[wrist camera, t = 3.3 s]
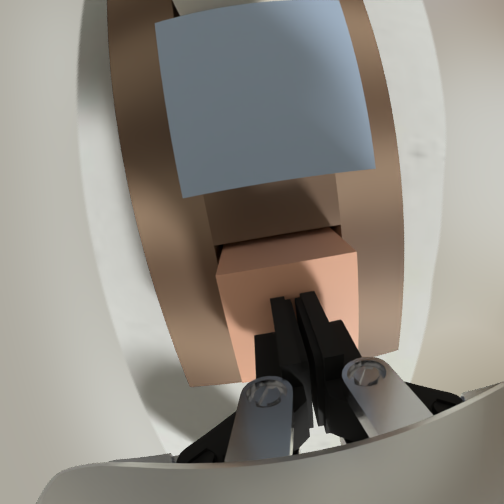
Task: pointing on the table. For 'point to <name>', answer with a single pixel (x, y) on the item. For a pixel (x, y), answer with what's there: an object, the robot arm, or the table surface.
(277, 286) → the peach block
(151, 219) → the brown long flat block
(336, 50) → the slate key
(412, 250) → the table surface
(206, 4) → the cream key
